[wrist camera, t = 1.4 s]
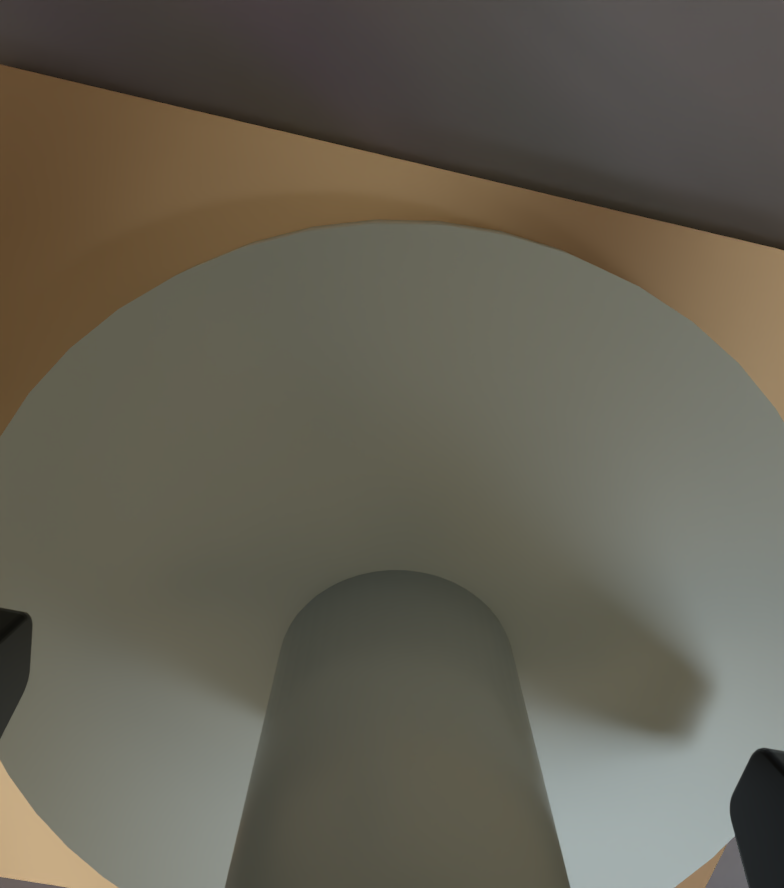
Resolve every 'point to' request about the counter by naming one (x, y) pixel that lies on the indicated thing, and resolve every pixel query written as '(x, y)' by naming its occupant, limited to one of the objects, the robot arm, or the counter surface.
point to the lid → (394, 573)
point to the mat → (263, 216)
